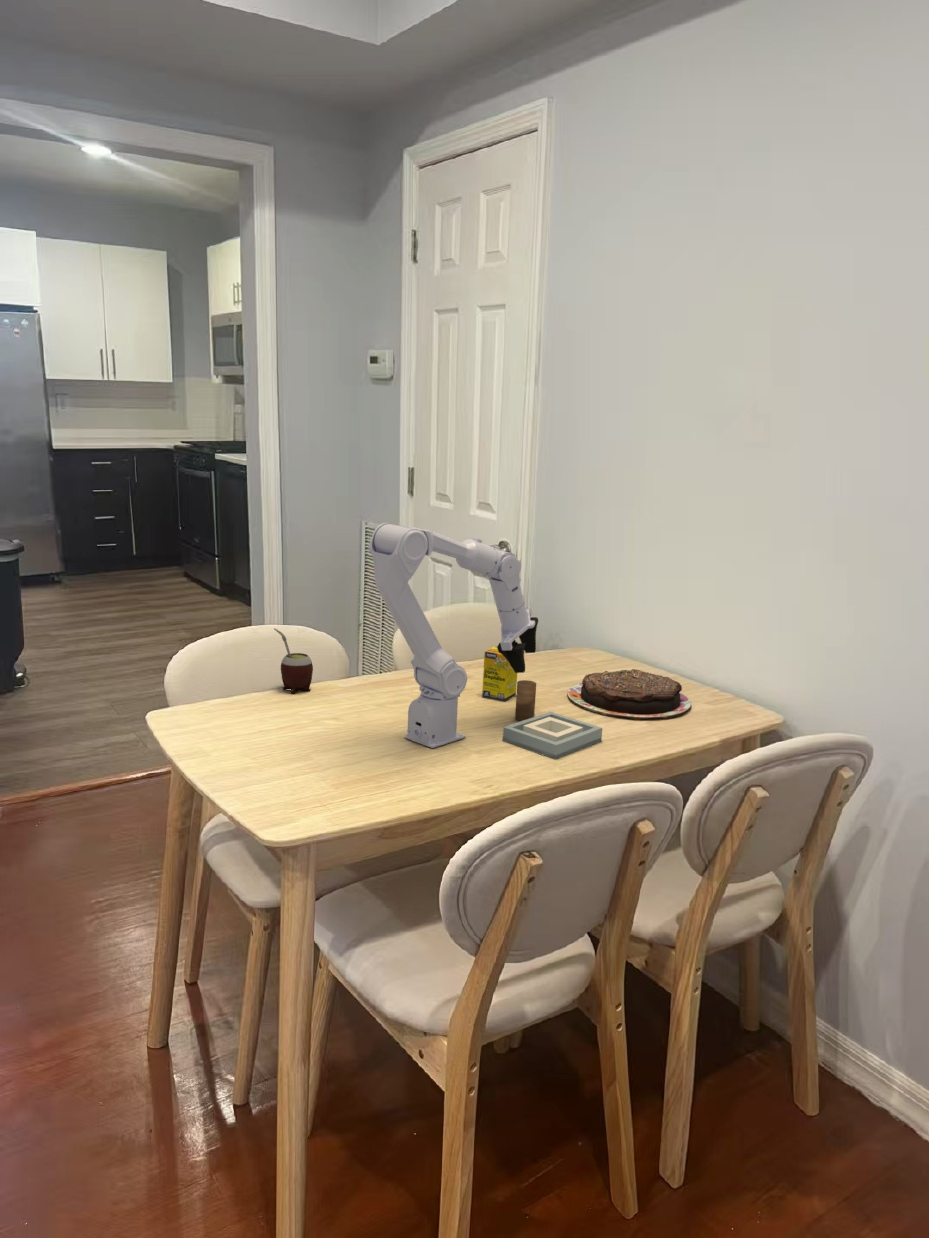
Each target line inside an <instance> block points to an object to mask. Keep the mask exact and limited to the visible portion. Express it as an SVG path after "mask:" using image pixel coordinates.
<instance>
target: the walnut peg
mask: <svg viewBox="0 0 929 1238" xmlns="http://www.w3.org/2000/svg"><path fill="white" fill-rule="evenodd" d="M536 694H537V682H536V681H533V680H529V679H528V680H527V679H526V680H525V679H523V680H521V679H520V680H519V681H518V680H517V685H516V696H515V697H516V698H515V712H514V720H515V721H517V722H521V721H524V720H527V719H530V718H533V717H535V711H536V708H535V707H536Z"/></svg>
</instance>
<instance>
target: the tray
mask: <svg viewBox="0 0 929 1238" xmlns="http://www.w3.org/2000/svg"><path fill="white" fill-rule="evenodd" d="M547 717H552V718H555V719H558V720H561V721H564V722H567V723H571V724H574V725H577V726H580V727H583V732H581V733H578V734H576V735H573V736H570V737H567V738H565V739H562V740H559V741H557V742H554V741H551V740H548V739H545V738H542V737H539V736H536V735H533V734H530V733H527V732H524V731H523V726H524V725H527V724H530V723H533V722H536V721H539V720H541V719H544V718H547ZM551 732H553V731H551ZM554 733H556V732H554ZM602 737H603V727H601V726H597V725H594V724H591V723H588V722H585V721H581V720H578V719H575V718H572V717H568V716H565V715H562V714H559V713H555V712H554V711H548V712H545V713H543V714H539V715H536V716H534V717H533V718H530V719H527V720H524V721H521V722H519V721H517V722H515V723H512V724H508V725H507V726H503V729H502V741H503V742H506V743H508V744H510V745H514V746H517V747H520V748H522V749H525V750H528V751H531V752H534V753H537V754H539V755H542V754H543V755H542V756H545V757H548V758H550V759H553V760H558V759H560V758H563V757H566V756H568V755H570V754H572V753H575V752H578V751H580V749H581V750H583V749H585V748H588V747H590V746H593V745H596V744H598V743H600V742H602V739H603V738H602ZM582 748H583V749H582ZM567 754H568V755H567ZM562 756H563V757H562Z"/></svg>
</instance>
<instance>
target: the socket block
mask: <svg viewBox="0 0 929 1238" xmlns="http://www.w3.org/2000/svg"><path fill="white" fill-rule="evenodd" d="M523 731H524V732H527V733H530V734H533V735H536V736H539V737H542V738H545V739H548V740H551V741H554V742H557V741H559V740H562V739H565V738H567V737H570V736H573V735H576V734H578V733H581V732H583V727H580V726H577V725H574V724H571V723H567V722H564V721H561V720H558V719H555V718H552V717H547V718H544V719H541V720H539V721H536V722H533V723H530V724H527V725H524V726H523ZM551 731H553V732H551ZM554 732H556V733H554Z"/></svg>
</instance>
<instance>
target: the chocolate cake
mask: <svg viewBox="0 0 929 1238" xmlns="http://www.w3.org/2000/svg"><path fill="white" fill-rule="evenodd" d="M682 690H683V686H682V684H681V683H680V682H678V681H676V680H674V679H672V678H671V677H669V676H663V675H658V674H656V673H655V674H654V673H652V672H646V671H642V670H639V669H635V668H632V669H630V670H629V669H621V670H616V671H607V670H605V671H603V672H592V673H587V674H585V676H584V677H583V679H582V681H581V682H580V683H578V684H576V685H573V686H571V687H570V688H569V689H568V690H567V691H566V692H567V693H566V694H567V696H568V698H569V700H570V702H571V703H572V705H573V706H576V707H578V708H581V709H584V710H586V711H590V712H593V713H596V714H599V715H601V716H606V717H618V718H627V719H631V720H634V721H643V720H649V719H659V718H660V719H664V720H667V719H672V718H675V717H678V716H681V715H683V714H685V713H686V712H688V710H689V709H691V706H692V701H691V700H690V699H689V697H688V696H687V695H685V694H684V693H681V691H682Z"/></svg>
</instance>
